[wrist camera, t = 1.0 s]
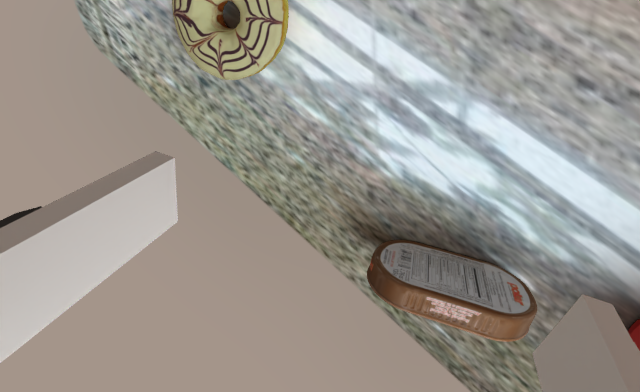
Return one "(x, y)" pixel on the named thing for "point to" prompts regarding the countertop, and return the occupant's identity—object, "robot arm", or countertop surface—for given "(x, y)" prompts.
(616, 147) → the countertop surface
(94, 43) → the countertop surface
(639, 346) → the canned food
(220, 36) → the decorated donut
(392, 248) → the tin
